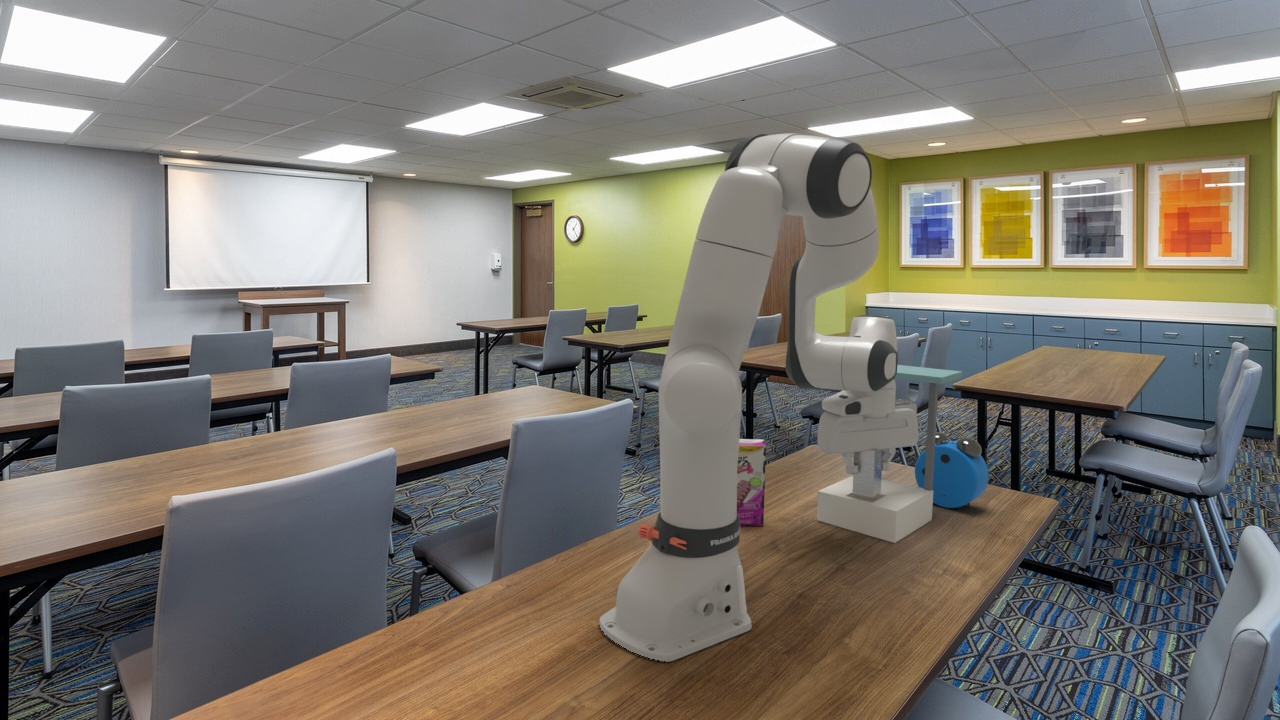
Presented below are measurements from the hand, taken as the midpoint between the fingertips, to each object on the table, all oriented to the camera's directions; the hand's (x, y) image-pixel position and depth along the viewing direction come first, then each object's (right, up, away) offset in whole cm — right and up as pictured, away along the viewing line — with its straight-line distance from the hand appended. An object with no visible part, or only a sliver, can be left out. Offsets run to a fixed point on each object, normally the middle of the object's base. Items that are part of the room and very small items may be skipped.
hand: (867, 471), depth 131 cm
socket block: (+5, -10, +6) cm, 13 cm away
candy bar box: (-25, -11, +4) cm, 27 cm away
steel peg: (0, -4, +1) cm, 4 cm away
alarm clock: (+21, -9, +13) cm, 26 cm away
